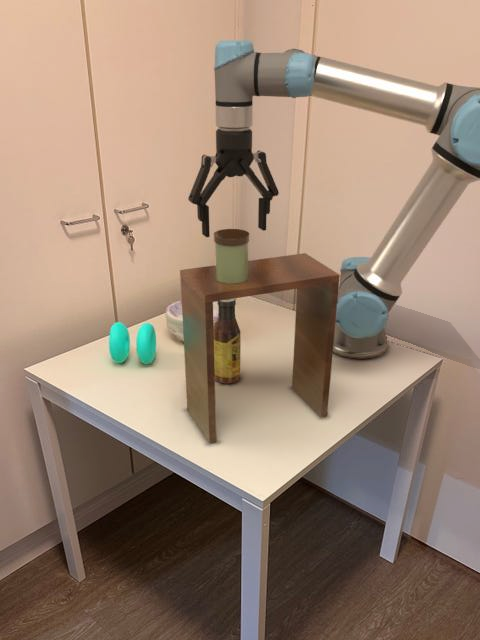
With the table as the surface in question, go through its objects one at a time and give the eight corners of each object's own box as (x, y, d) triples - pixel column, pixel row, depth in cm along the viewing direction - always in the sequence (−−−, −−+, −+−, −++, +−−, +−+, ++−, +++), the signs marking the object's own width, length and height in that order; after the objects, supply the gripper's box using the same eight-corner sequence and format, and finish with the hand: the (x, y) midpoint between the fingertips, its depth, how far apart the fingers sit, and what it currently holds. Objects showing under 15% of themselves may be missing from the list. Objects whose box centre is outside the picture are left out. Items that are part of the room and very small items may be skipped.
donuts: (151, 371, 153) (147, 333, 148) (110, 370, 154) (105, 332, 148) (158, 353, 162) (155, 316, 156) (119, 351, 162) (115, 315, 157)
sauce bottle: (237, 386, 147) (237, 305, 136) (211, 383, 148) (209, 303, 137) (242, 373, 152) (243, 294, 142) (217, 370, 154) (216, 292, 143)
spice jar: (248, 272, 120) (248, 228, 116) (250, 284, 115) (250, 238, 110) (214, 272, 120) (213, 229, 115) (214, 284, 114) (213, 239, 110)
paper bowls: (209, 353, 162) (208, 324, 157) (157, 342, 167) (154, 314, 162) (232, 330, 173) (232, 302, 169) (183, 321, 178) (182, 294, 174)
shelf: (297, 386, 147) (305, 253, 130) (327, 416, 136) (339, 274, 119) (187, 410, 138) (179, 270, 121) (209, 443, 127) (204, 294, 110)
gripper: (280, 122, 137) (277, 222, 148) (170, 129, 129) (176, 233, 140) (296, 127, 131) (291, 230, 142) (181, 134, 123) (186, 243, 134)
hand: (234, 232), depth 141 cm, fingers open, 13 cm apart
